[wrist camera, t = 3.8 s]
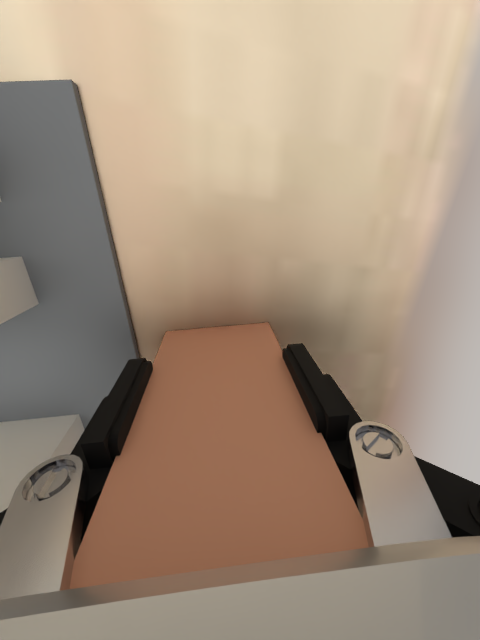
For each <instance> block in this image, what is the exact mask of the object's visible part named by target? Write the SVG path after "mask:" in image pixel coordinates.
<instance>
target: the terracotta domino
mask: <svg viewBox="0 0 480 640" xmlns="http://www.w3.org/2000/svg"><path fill="white" fill-rule="evenodd" d="M152 366H153V371H152V374H151V377H150V379H149V382H148V384H147V387H146V390H145V392H144V395H143V397H142V400H141V403H140V405H139V408H138V410H137V413H136V416H135V418H134V421H133V423H132V426H131V429H130V431H129V434H128V436H127V439H126V442H125V444H124V447H123V449H122V452H121V455H120V456H116V457H115V460H114V462H113V465H112V467H111V470H110V472H109V475H108V477H107V480H106V482H105V485H104V487H103V490H102V492H101V495H100V497H99V500H98V502H97V505H96V507H95V510H94V512H93V515H92V517H91V520H90V522H89V525H88V527H87V530H86V532H85V535H84V537H83V540H82V542H81V545H80V547H79V550H78V552H77V555H76V557H75V560H74V564H73V570H72V576H71V583H70V589H75V588H82V587H89V586H96V585H102V584H109V583H116V582H123V581H130V580H137V579H144V578H151V577H158V576H165V575H172V574H179V573H186V572H193V571H200V570H207V569H214V568H222V567H229V566H236V565H243V564H250V563H258V562H265V561H272V560H279V559H286V558H294V557H301V556H309V555H316V554H324V553H331V552H339V551H346V550H354V549H361V548H369V546H368V541H367V536H366V532H365V527H364V522H363V519H362V517H361V515H360V513H359V510H358V508H357V506H356V504H355V502H354V500H353V498H352V496H351V494H350V492H349V490H348V487H347V485H346V483H345V481H344V479H343V477H342V475H341V473H340V471H339V469H338V467H337V465H336V462H335V460H334V458H333V456H332V454H331V452H330V450H329V448H328V446H327V444H326V442H325V439H324V437H323V435H322V433H317V431H316V429H315V427H314V425H313V423H312V420H311V418H310V416H309V414H308V412H307V410H306V407H305V405H304V403H303V401H302V399H301V397H300V394H299V392H298V390H297V388H296V386H295V383H294V381H293V379H292V377H291V375H290V373H289V370H288V368H287V366H286V364H285V362H284V359H283V357H282V350H281V347H280V345H279V343H278V341H277V339H276V337H275V335H274V333H273V331H272V329H271V327H270V325H269V322H266V323H255V324H243V325H232V326H221V327H209V328H198V329H186V330H175V331H166V333H165V335H164V338H163V340H162V343H161V345H160V348H159V350H158V353H157V355H156V358H155V360H154V363H153V365H152Z"/></svg>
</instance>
